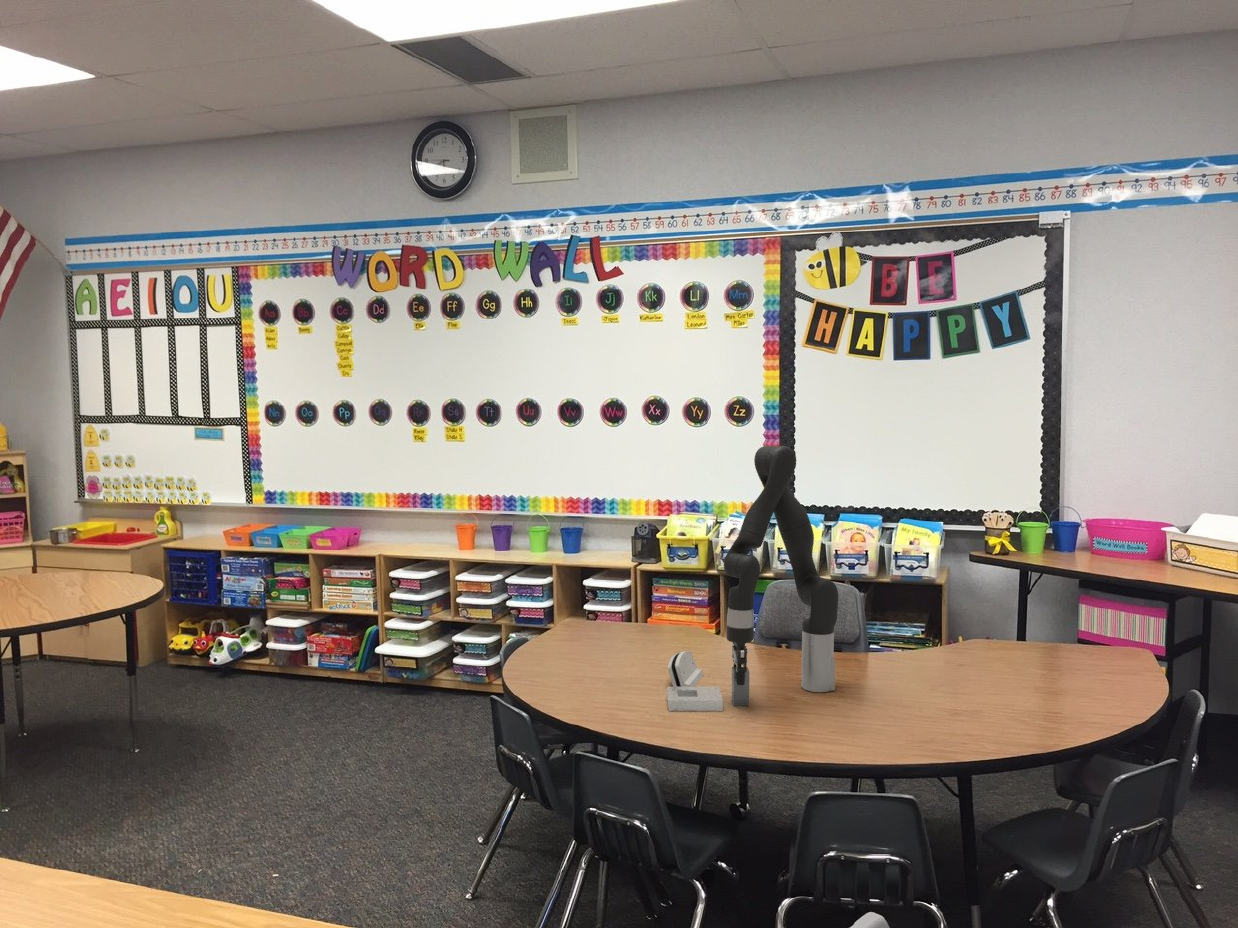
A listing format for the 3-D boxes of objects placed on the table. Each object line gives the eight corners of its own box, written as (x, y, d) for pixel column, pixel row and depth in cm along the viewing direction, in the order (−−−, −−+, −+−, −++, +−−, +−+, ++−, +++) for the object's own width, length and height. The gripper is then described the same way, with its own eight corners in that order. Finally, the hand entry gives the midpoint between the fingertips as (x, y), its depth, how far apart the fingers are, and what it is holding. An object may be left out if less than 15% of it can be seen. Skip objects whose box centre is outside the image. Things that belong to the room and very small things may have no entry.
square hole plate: (718, 696, 273) (718, 686, 273) (723, 710, 261) (723, 700, 261) (667, 696, 273) (667, 686, 273) (668, 710, 261) (668, 700, 261)
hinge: (690, 691, 277) (679, 659, 278) (675, 695, 279) (664, 663, 279) (703, 674, 293) (693, 644, 294) (689, 678, 295) (679, 648, 295)
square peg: (747, 701, 269) (747, 666, 268) (749, 706, 265) (749, 671, 264) (731, 701, 269) (731, 666, 268) (733, 706, 265) (733, 671, 264)
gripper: (756, 630, 258) (755, 688, 259) (750, 617, 272) (749, 672, 273) (729, 629, 258) (728, 687, 259) (724, 617, 272) (723, 672, 273)
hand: (738, 680), depth 266 cm, fingers open, 8 cm apart
